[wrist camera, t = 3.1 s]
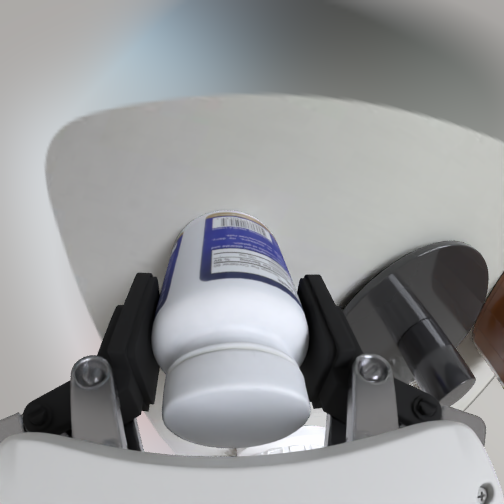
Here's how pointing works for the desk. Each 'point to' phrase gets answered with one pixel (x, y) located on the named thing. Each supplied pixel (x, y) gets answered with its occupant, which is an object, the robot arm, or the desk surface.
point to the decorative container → (290, 442)
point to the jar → (492, 331)
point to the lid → (423, 316)
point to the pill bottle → (230, 336)
